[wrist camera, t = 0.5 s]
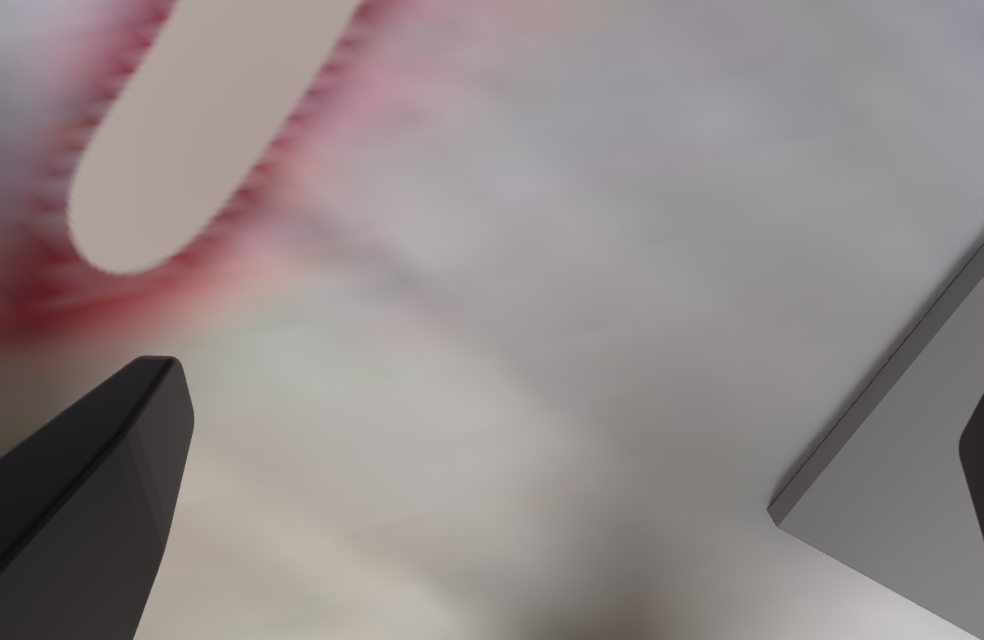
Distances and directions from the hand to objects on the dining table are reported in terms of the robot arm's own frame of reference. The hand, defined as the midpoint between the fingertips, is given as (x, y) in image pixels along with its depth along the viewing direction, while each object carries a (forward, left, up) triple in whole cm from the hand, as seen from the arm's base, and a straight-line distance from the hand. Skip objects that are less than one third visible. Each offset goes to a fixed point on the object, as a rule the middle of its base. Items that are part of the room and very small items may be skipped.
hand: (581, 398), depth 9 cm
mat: (0, -19, -16) cm, 25 cm away
